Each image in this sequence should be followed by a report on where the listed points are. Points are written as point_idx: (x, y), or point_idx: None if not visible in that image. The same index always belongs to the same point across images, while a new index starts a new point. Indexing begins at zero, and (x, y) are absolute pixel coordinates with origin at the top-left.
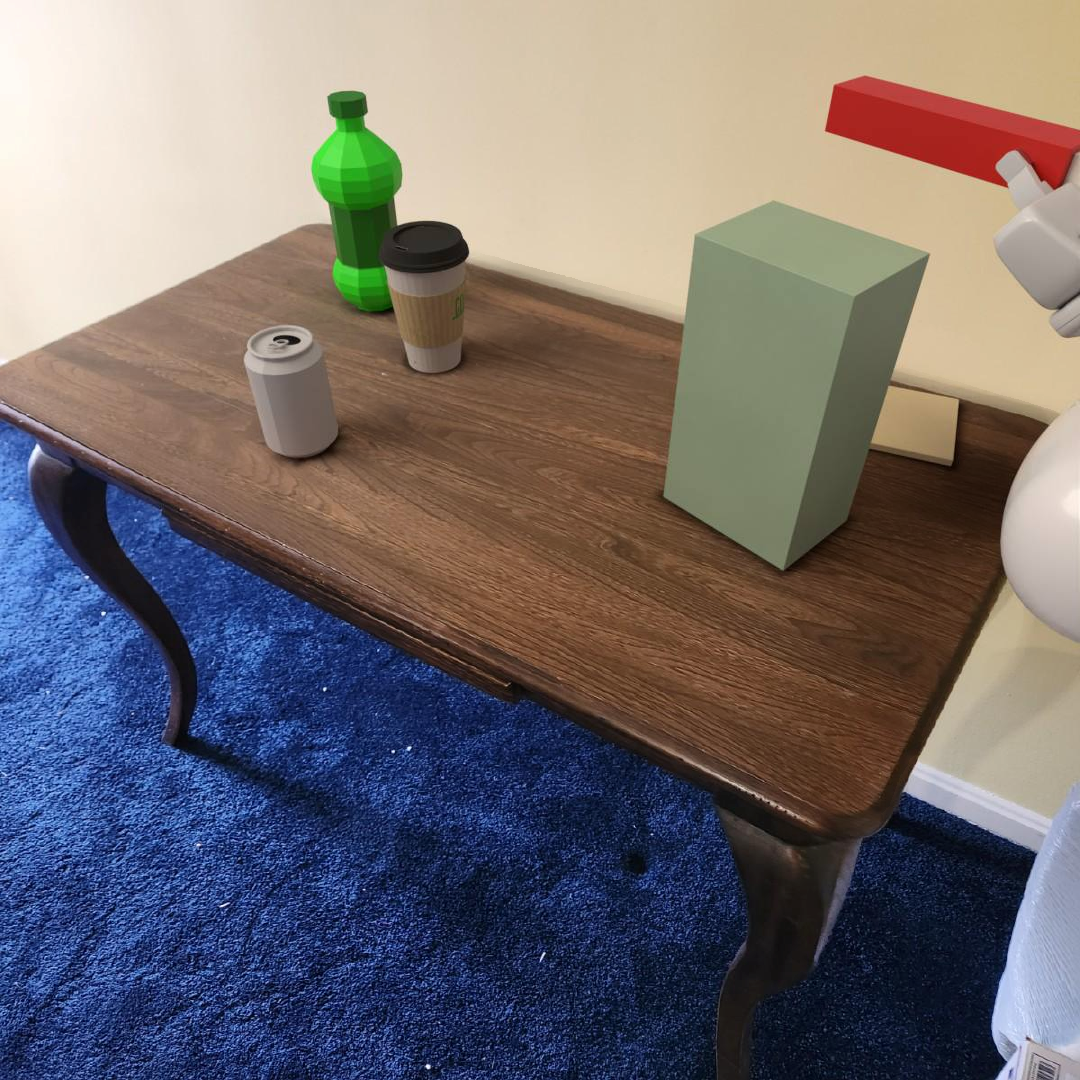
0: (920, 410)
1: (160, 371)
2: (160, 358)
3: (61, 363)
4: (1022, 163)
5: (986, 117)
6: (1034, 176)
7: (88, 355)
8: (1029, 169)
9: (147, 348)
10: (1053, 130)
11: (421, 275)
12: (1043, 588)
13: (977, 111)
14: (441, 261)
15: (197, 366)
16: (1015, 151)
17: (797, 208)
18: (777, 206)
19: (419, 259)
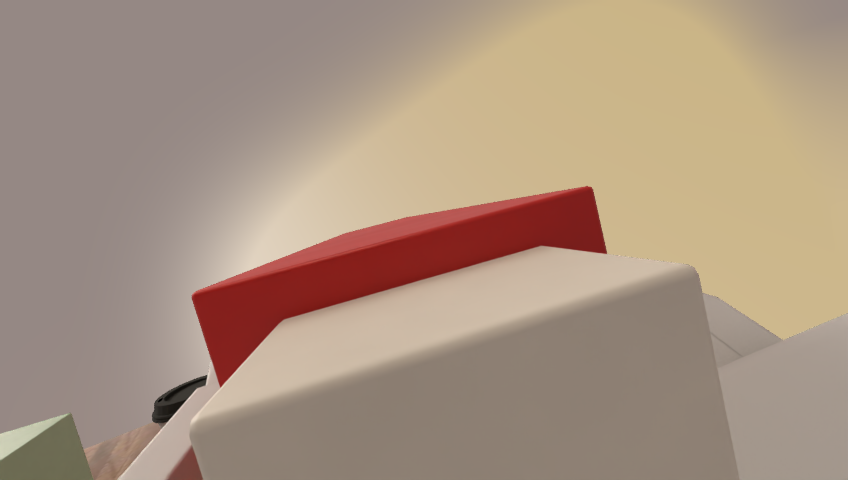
0: None
1: (106, 467)
2: (123, 455)
3: (92, 451)
4: (212, 369)
5: (366, 231)
6: (153, 456)
7: (108, 447)
8: (190, 405)
9: (132, 445)
10: (419, 222)
11: (161, 423)
12: None
13: (390, 224)
14: (171, 413)
15: (123, 466)
16: None
17: (30, 440)
18: (32, 430)
19: (157, 411)
